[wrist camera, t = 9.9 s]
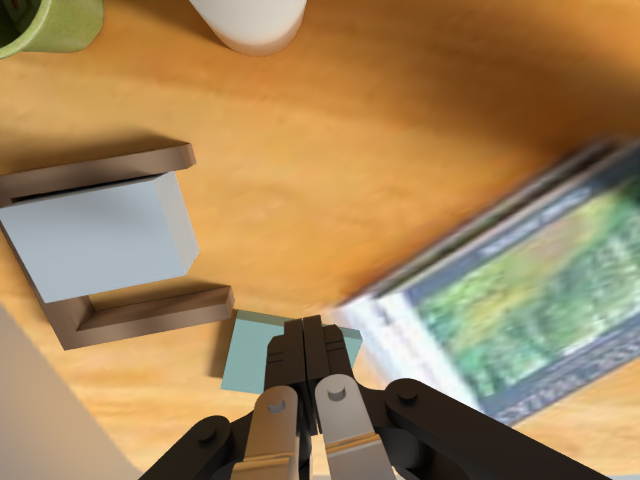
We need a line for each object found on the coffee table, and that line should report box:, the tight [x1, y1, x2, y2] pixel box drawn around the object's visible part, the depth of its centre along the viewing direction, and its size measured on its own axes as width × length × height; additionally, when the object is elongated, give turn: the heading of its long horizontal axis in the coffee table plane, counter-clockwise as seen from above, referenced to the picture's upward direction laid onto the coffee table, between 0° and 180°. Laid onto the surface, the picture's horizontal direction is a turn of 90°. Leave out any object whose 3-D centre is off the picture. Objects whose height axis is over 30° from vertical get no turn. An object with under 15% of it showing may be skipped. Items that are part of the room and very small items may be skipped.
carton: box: [0, 171, 200, 303], centre depth 25 cm, size 10×7×5 cm
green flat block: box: [221, 310, 363, 394], centre depth 33 cm, size 12×8×2 cm, turn 75°
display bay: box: [0, 144, 235, 351], centre depth 27 cm, size 14×14×3 cm
